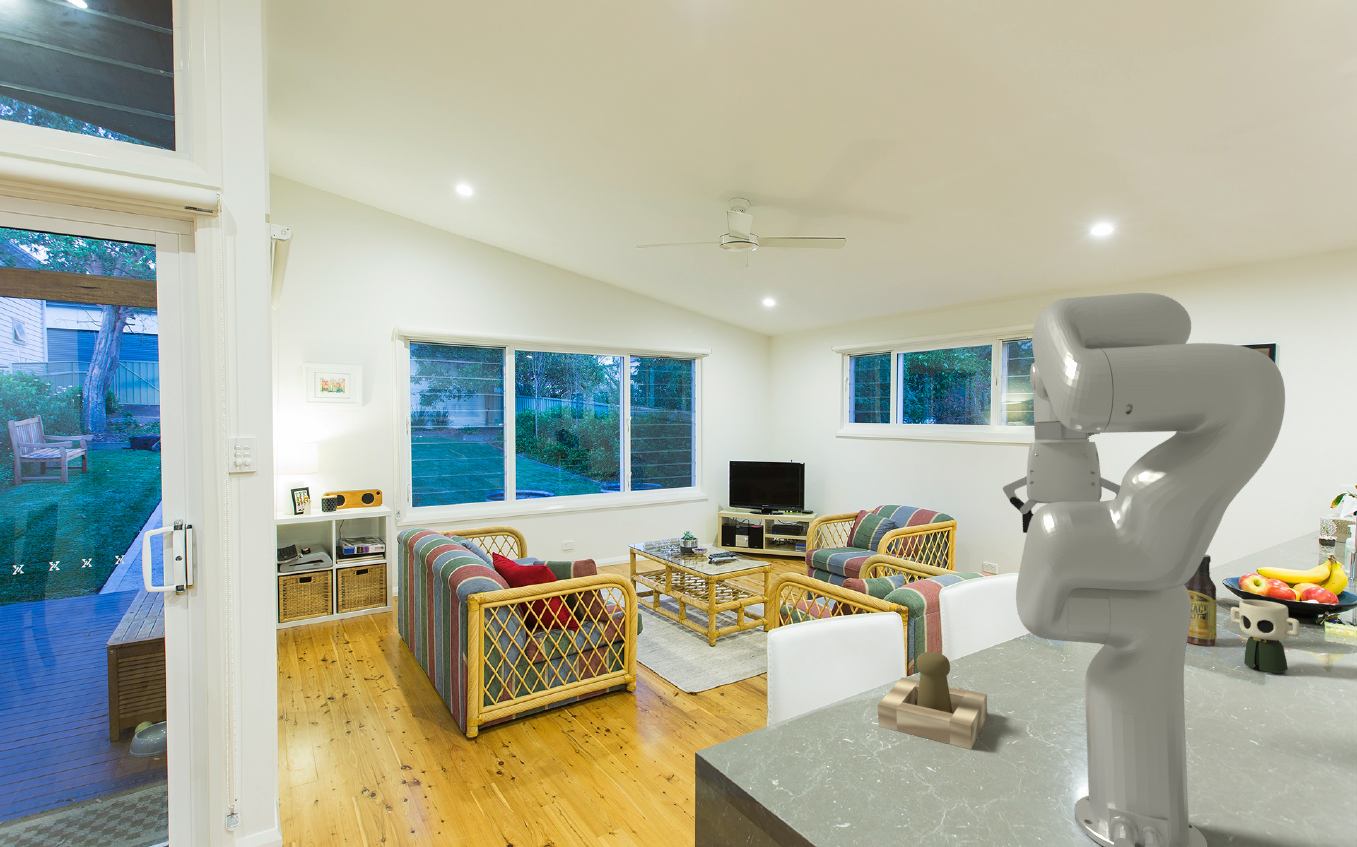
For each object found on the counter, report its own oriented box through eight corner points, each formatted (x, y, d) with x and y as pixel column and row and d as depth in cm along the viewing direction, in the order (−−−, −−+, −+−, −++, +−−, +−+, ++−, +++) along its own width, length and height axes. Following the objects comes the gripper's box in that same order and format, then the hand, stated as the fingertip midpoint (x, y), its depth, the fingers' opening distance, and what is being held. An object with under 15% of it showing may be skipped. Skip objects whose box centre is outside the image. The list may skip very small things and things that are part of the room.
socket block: (971, 749, 94) (970, 725, 94) (878, 725, 102) (877, 704, 102) (987, 715, 105) (986, 694, 105) (902, 696, 113) (902, 677, 114)
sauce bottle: (1174, 640, 142) (1171, 552, 142) (1190, 636, 144) (1186, 550, 145) (1209, 649, 136) (1205, 557, 136) (1224, 644, 138) (1220, 554, 139)
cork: (959, 730, 100) (956, 661, 100) (919, 728, 101) (917, 659, 101) (949, 714, 106) (947, 648, 106) (912, 712, 107) (910, 647, 107)
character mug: (1222, 663, 127) (1219, 599, 128) (1242, 658, 130) (1240, 595, 130) (1291, 682, 117) (1288, 612, 118) (1311, 676, 120) (1308, 608, 120)
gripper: (1127, 432, 99) (1131, 541, 98) (1004, 434, 109) (1008, 533, 108) (1127, 432, 93) (1131, 548, 92) (998, 434, 103) (1001, 539, 102)
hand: (1064, 539), depth 100 cm, fingers open, 9 cm apart
